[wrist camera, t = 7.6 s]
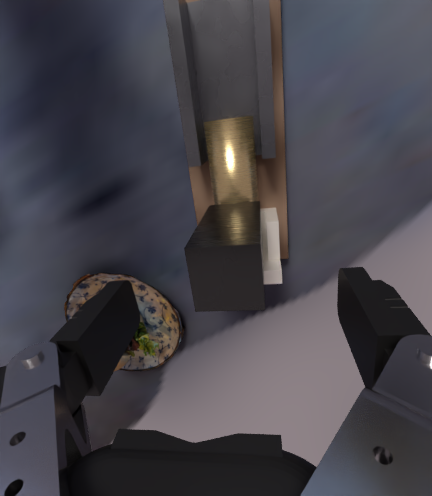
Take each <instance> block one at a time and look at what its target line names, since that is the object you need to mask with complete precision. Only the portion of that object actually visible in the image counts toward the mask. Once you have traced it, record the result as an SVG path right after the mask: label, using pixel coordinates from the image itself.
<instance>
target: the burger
mask: <svg viewBox="0 0 432 496" xmlns="http://www.w3.org/2000/svg"><path fill="white" fill-rule="evenodd" d="M118 280H129V281H130V282H131V284H132V287H133V291H134V294H135V297H136V301H137V304H138V308H139V311H140V324H139V327H138V329H137V331H136V332H135V334H134V336H133V338H132V340H131V341H130V343H129V345H128V347H127V349H126V350H125V352H124V354H123V356H122V358H121V359H120V361H119V363H118V365H117V367H116V368H115V370H114V371H117V370H125V371H145V370H151V369H154V368H157V367H159V366H161V365H162V364H164V363H165V362H167V361H168V360H169V359H170V358H171V357H172V356H173V355H174V354H175V352H176V350H177V348H178V345H179V344H180V341H181V339H182V338H183V335H184V333H183V332H184V328H185V327H184V328H182V323H181V319H180V315H179V313H178V311H177V310H176V309H174V307H173V306H172V305H171V304H170V303H169V301H168V300H167V298H166V297H165V296H164V295H163V294H161V293H160V292H159V291H158V290H156V289H155V288H154V287H152V286H150V285H148V284H146V283H144V282H142V281H140V280H138V279H137V278H135V277H133V276H130V275H124V274H106V273H98V274H93V275H90V274H87V275H85V276H83V277H81V278H80V279H79V280H77V281H76V282H75V283H74V284H73V286H74V287H73V289H72V291H71V292H70V293H69V294H68V296H67V301H66V302H65V308H64V309H65V316H66V321H68V320H69V319H72V316H73V315H74V314H75V313H76V312H77V311H78V309H79V308H80V307H81V306H82V305H83V304H84V303H85V302H86V301H87V300H89V299H90V298H92V297H93V296H95V295H96V294H98V293H99V292H100V291H101V289H102V288H103V287H104V286H105V285H106V284H107V283H108V282H109V281H118Z"/></svg>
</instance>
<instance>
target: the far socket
mask: <svg viewBox="0 0 432 496" xmlns="http://www.w3.org/2000/svg"><path fill="white" fill-rule="evenodd" d="M261 224H262V239H263V261H264V284H282V268H281V262H280V244H279V221H278V216H277V211H276V208H264V209H261Z"/></svg>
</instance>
